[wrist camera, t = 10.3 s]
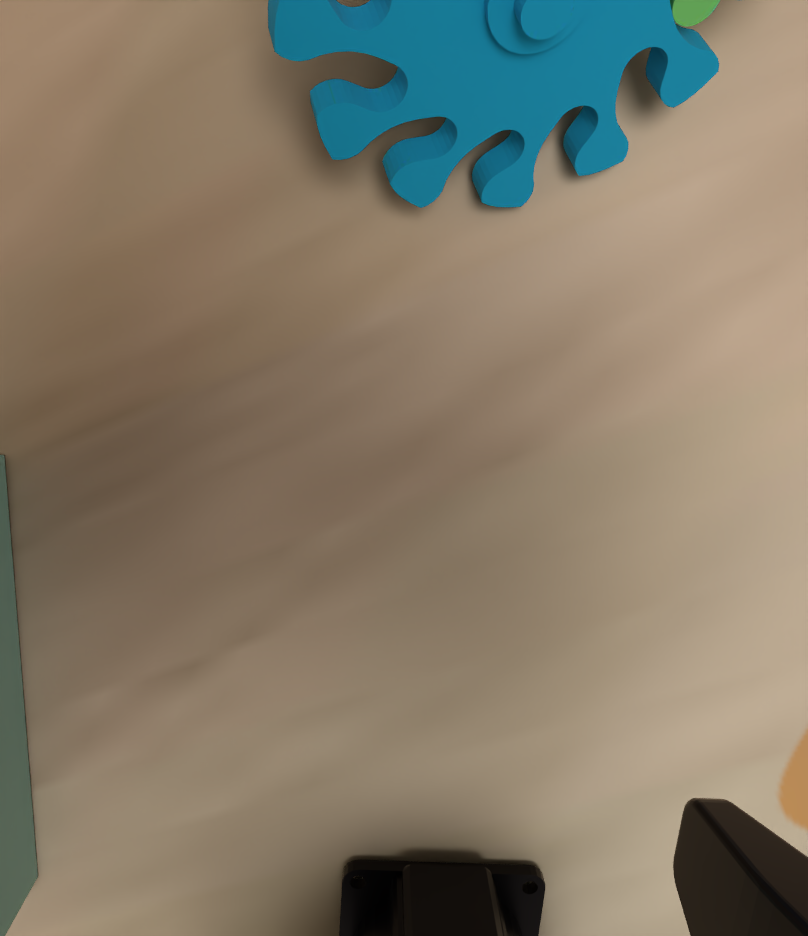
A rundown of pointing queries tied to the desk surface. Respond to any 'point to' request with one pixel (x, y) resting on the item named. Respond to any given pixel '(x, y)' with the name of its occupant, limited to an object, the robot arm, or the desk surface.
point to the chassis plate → (12, 743)
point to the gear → (491, 79)
